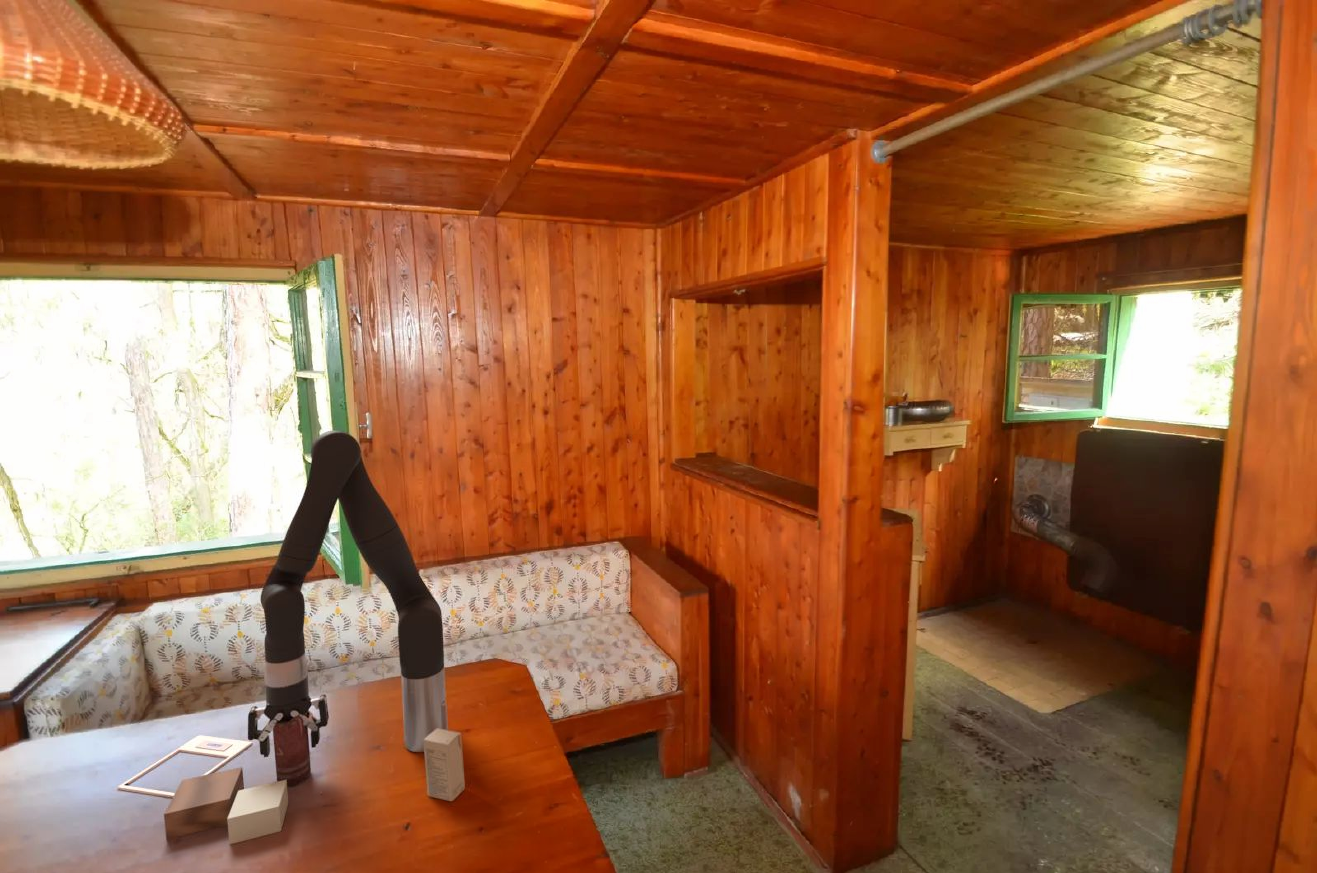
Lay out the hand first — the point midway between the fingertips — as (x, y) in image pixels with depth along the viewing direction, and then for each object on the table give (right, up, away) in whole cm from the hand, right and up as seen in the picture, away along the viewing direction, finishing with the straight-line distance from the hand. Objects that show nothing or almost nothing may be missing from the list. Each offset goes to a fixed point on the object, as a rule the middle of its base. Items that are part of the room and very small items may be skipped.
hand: (290, 750), depth 127 cm
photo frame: (-25, -7, +5) cm, 26 cm away
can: (+1, -6, +1) cm, 6 cm away
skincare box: (+34, -7, -4) cm, 35 cm away
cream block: (+1, -8, -12) cm, 14 cm away
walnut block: (-10, -7, -9) cm, 16 cm away
